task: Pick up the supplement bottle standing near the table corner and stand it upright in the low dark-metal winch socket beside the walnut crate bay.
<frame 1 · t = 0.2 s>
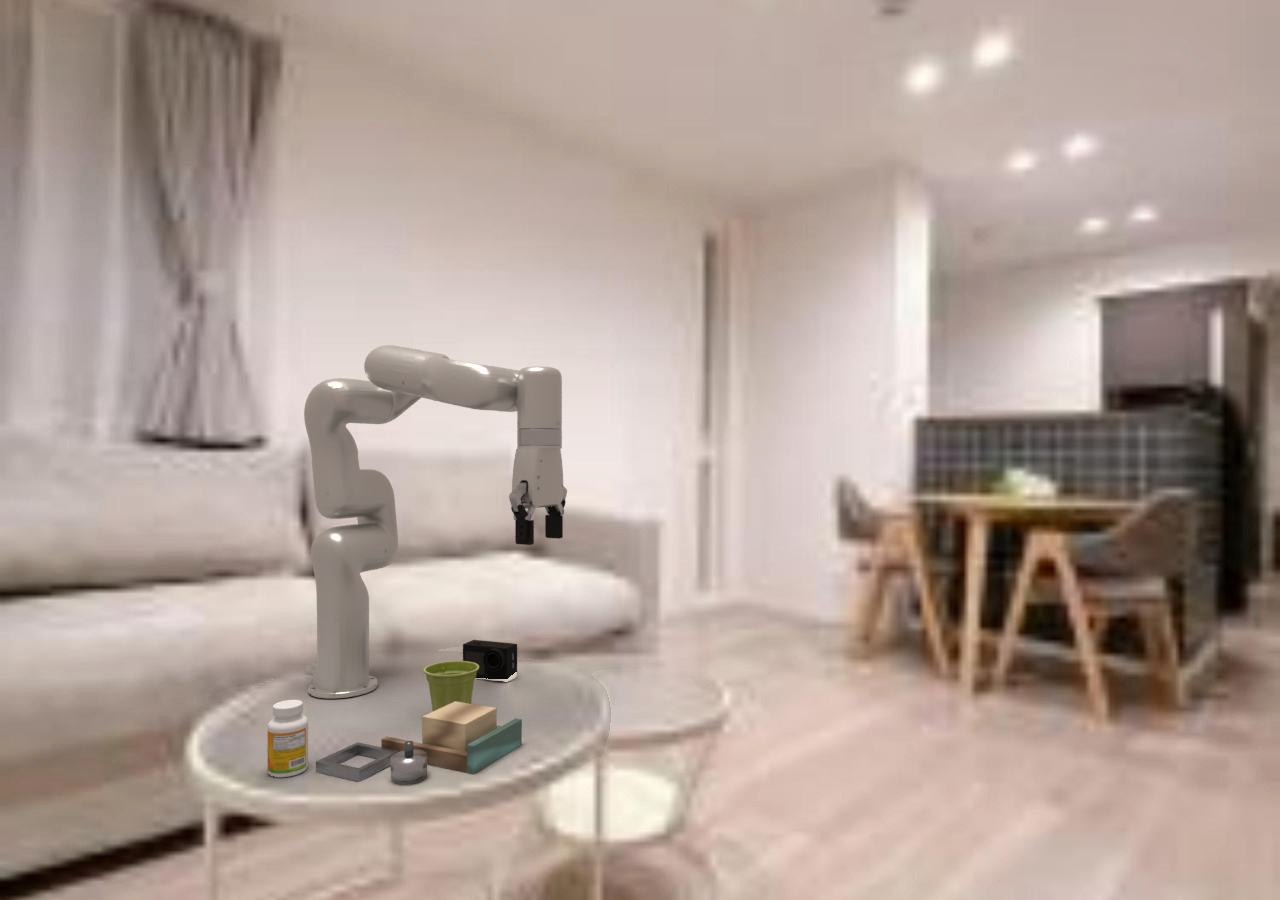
hand: (539, 541, 135), 31 cm above the table, tool pointing down, fingers open, 9 cm apart
supplement bottle: (288, 772, 116), on the table
bay: (449, 749, 124), on the table
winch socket: (358, 766, 117), on the table
digital camera: (488, 679, 162), on the table
plant pot: (451, 718, 138), on the table
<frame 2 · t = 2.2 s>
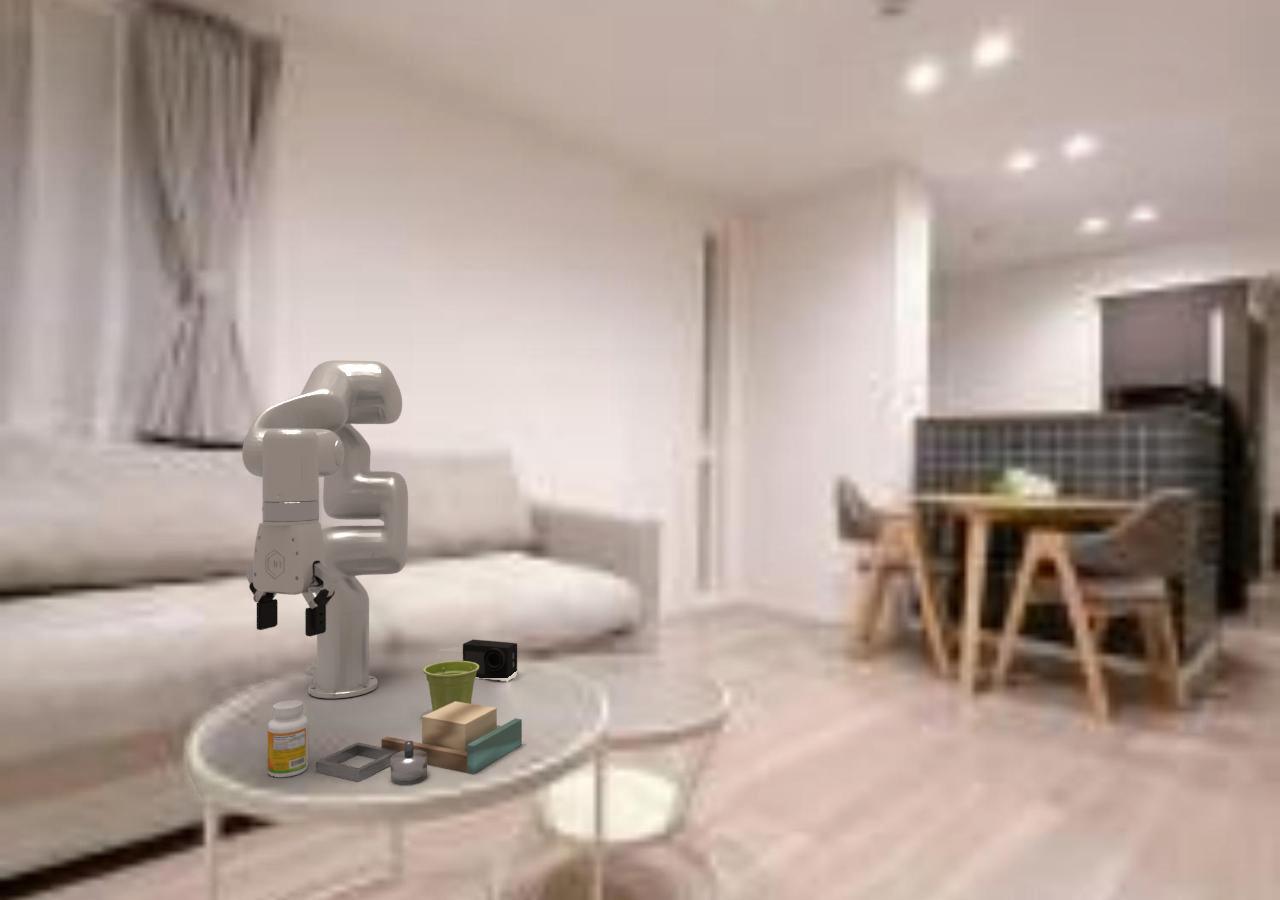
hand: (291, 631, 116), 20 cm above the table, tool pointing down, fingers open, 9 cm apart
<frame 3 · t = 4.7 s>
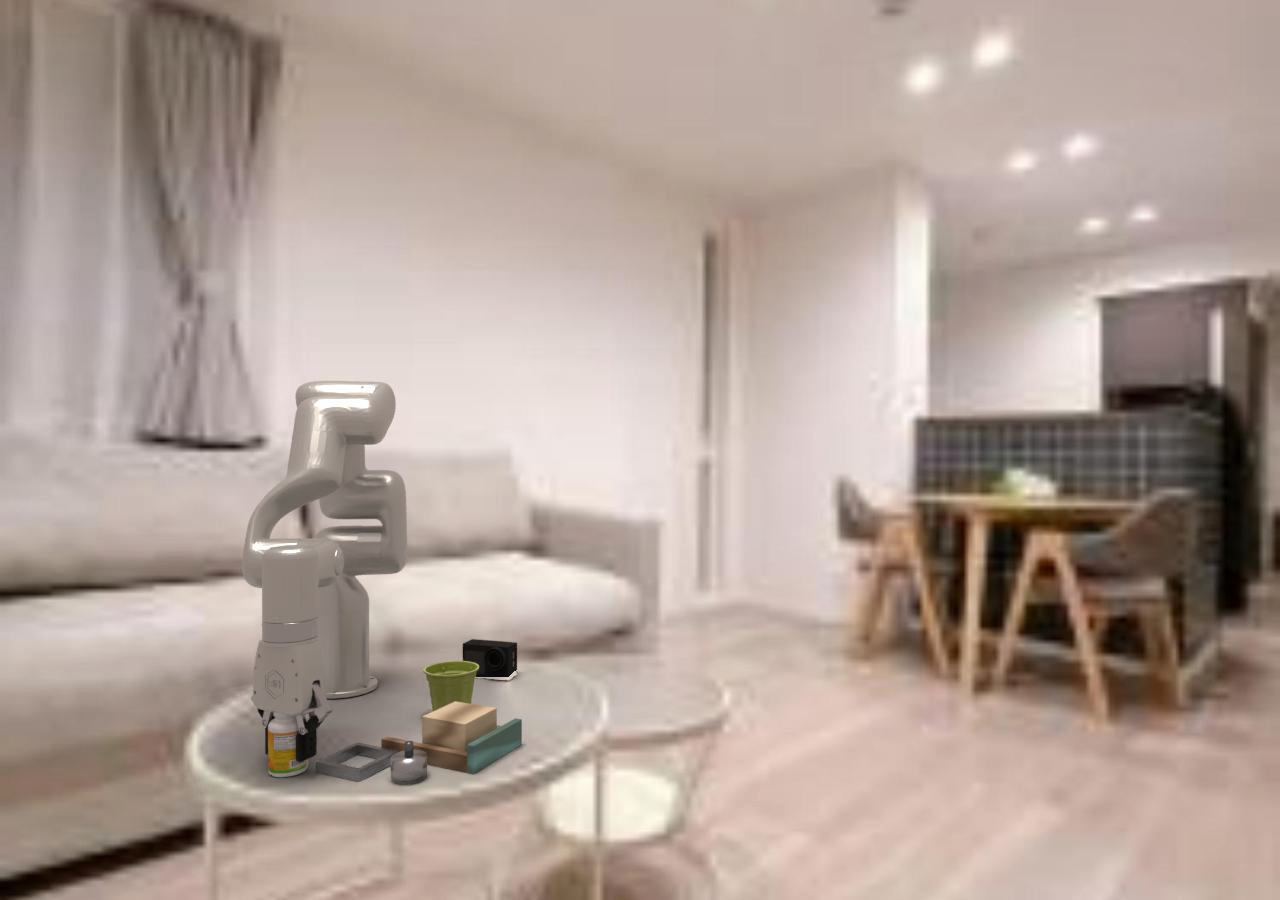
hand: (290, 753, 116), 2 cm above the table, tool pointing down, fingers closed on supplement bottle, 5 cm apart
supplement bottle: (288, 772, 116), on the table, touching gripper
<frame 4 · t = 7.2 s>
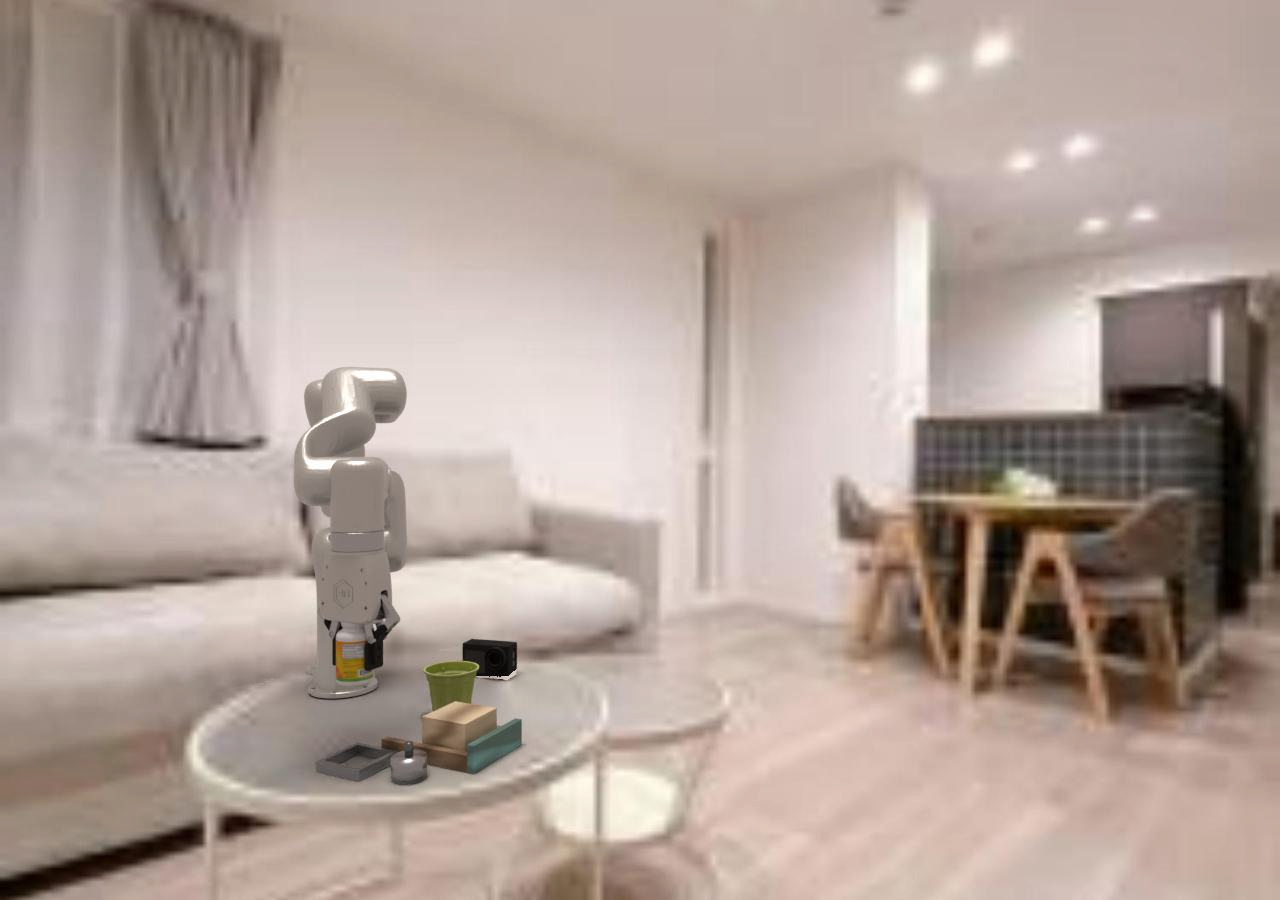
hand: (357, 664, 117), 15 cm above the table, tool pointing down, fingers closed on supplement bottle, 5 cm apart
supplement bottle: (355, 682, 117), point 12 cm above the table, touching gripper
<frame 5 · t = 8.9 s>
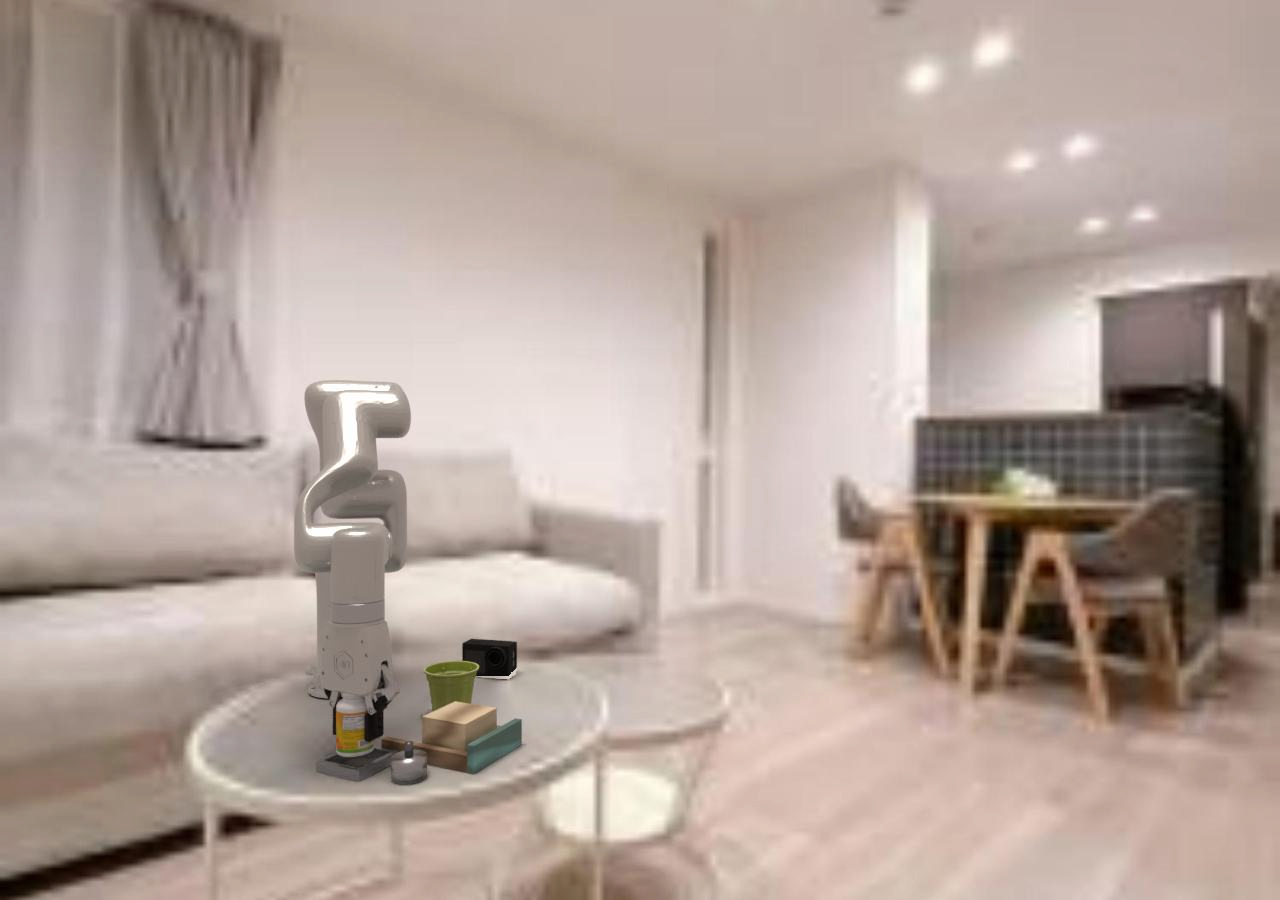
hand: (358, 734, 117), 5 cm above the table, tool pointing down, fingers closed on supplement bottle, 5 cm apart
supplement bottle: (355, 752, 117), point 2 cm above the table, touching gripper
when the fingers open (4 cm above the table, at t = 9.9 s): supplement bottle drops 2 cm, resting in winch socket.
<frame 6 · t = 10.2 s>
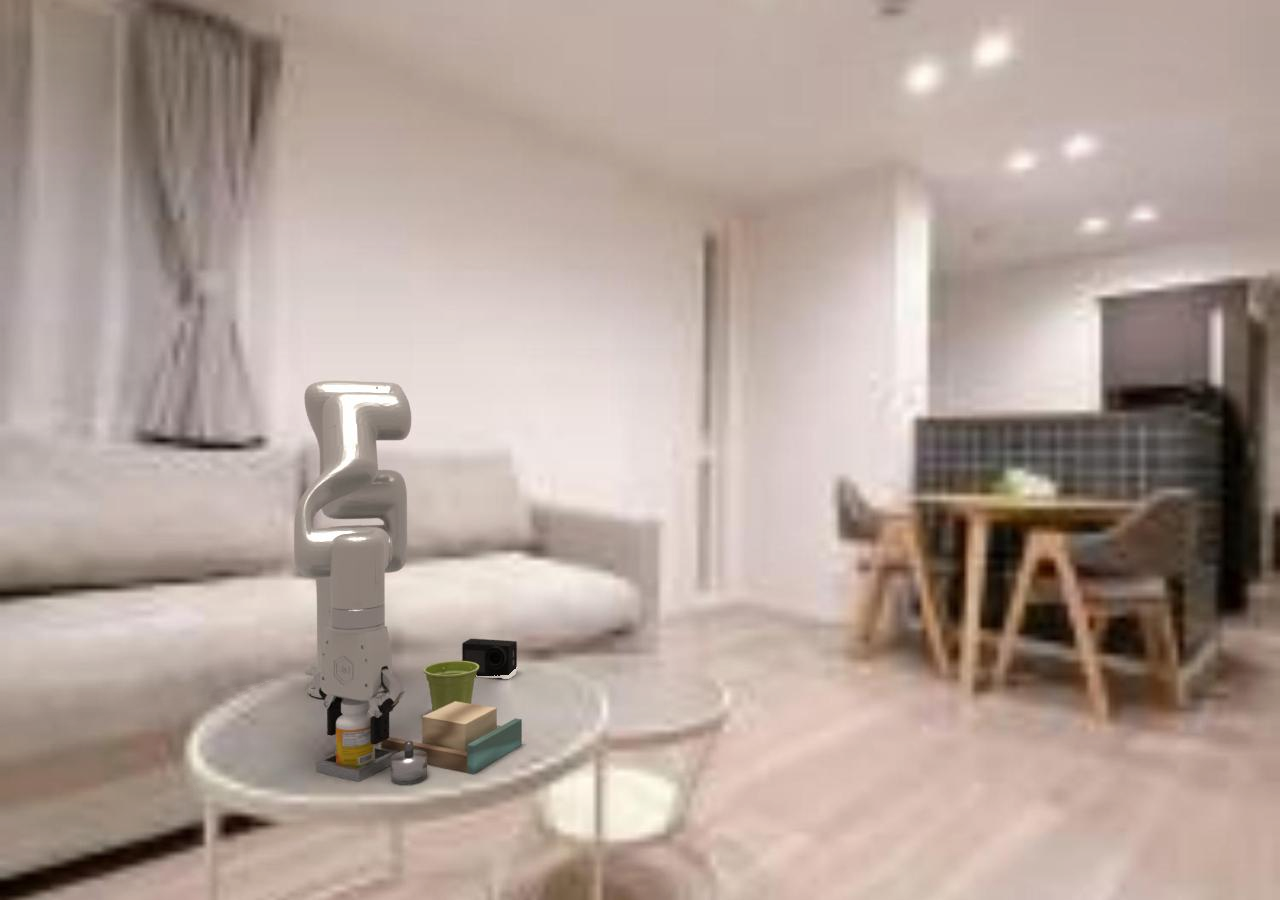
hand: (358, 736, 117), 4 cm above the table, tool pointing down, fingers open, 7 cm apart
supplement bottle: (355, 768, 117), resting in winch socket
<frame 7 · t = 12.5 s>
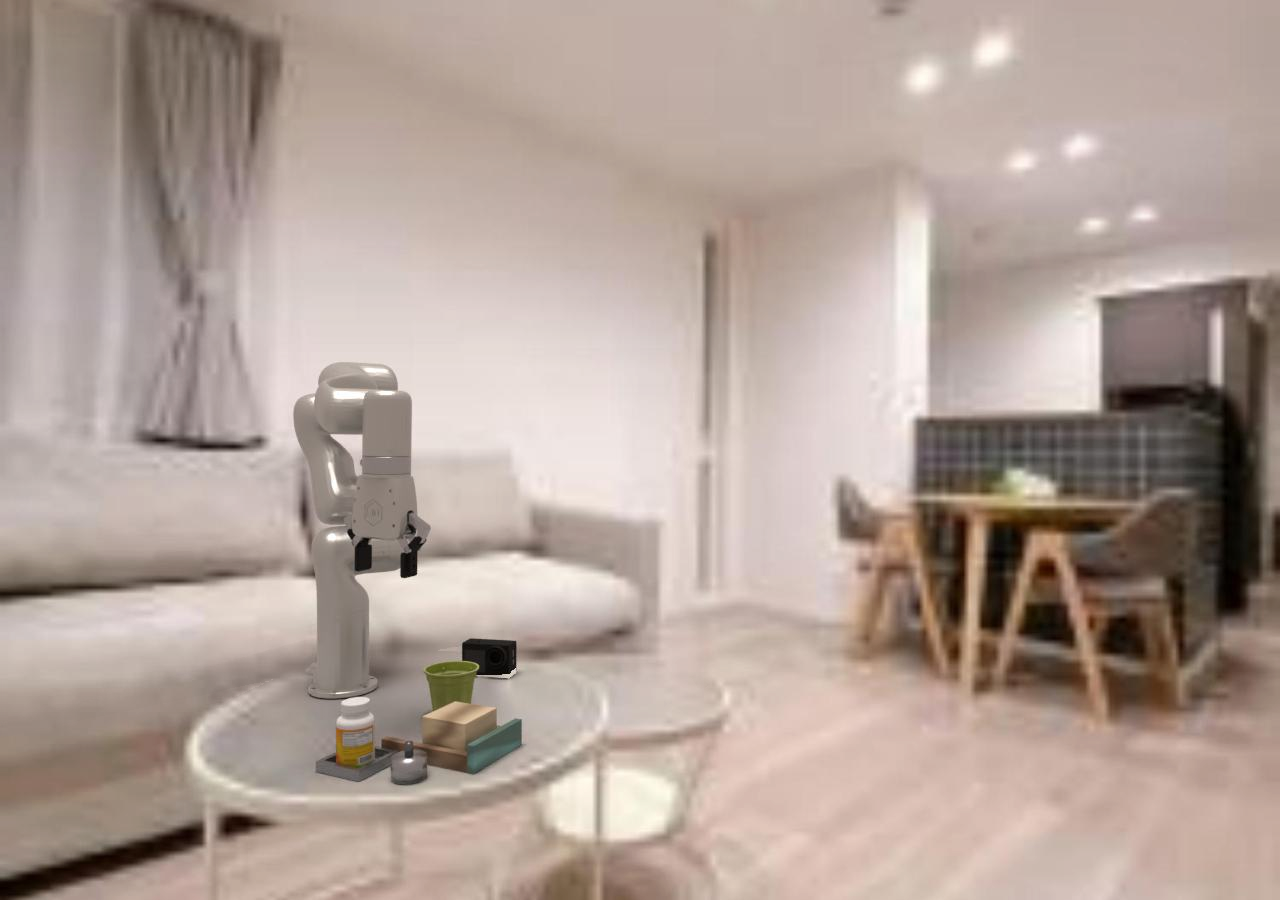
hand: (385, 573, 128), 27 cm above the table, tool pointing down, fingers open, 9 cm apart
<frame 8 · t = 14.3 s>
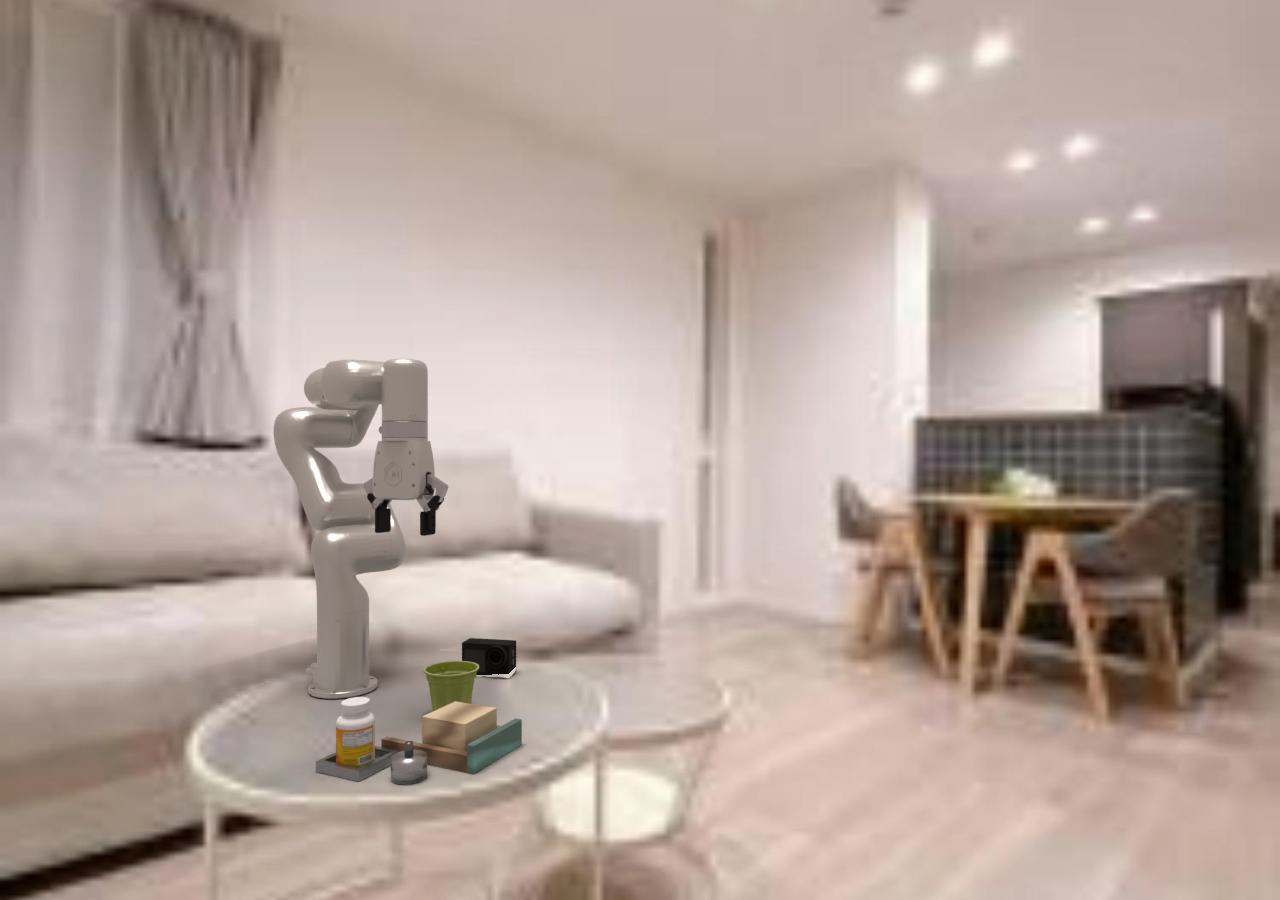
hand: (405, 533, 135), 32 cm above the table, tool pointing down, fingers open, 9 cm apart
at the end: supplement bottle 0.4 cm off-centre on the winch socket, point 0.0 cm above the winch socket's base; supplement bottle tilted 0°; the gripper is holding nothing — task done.
